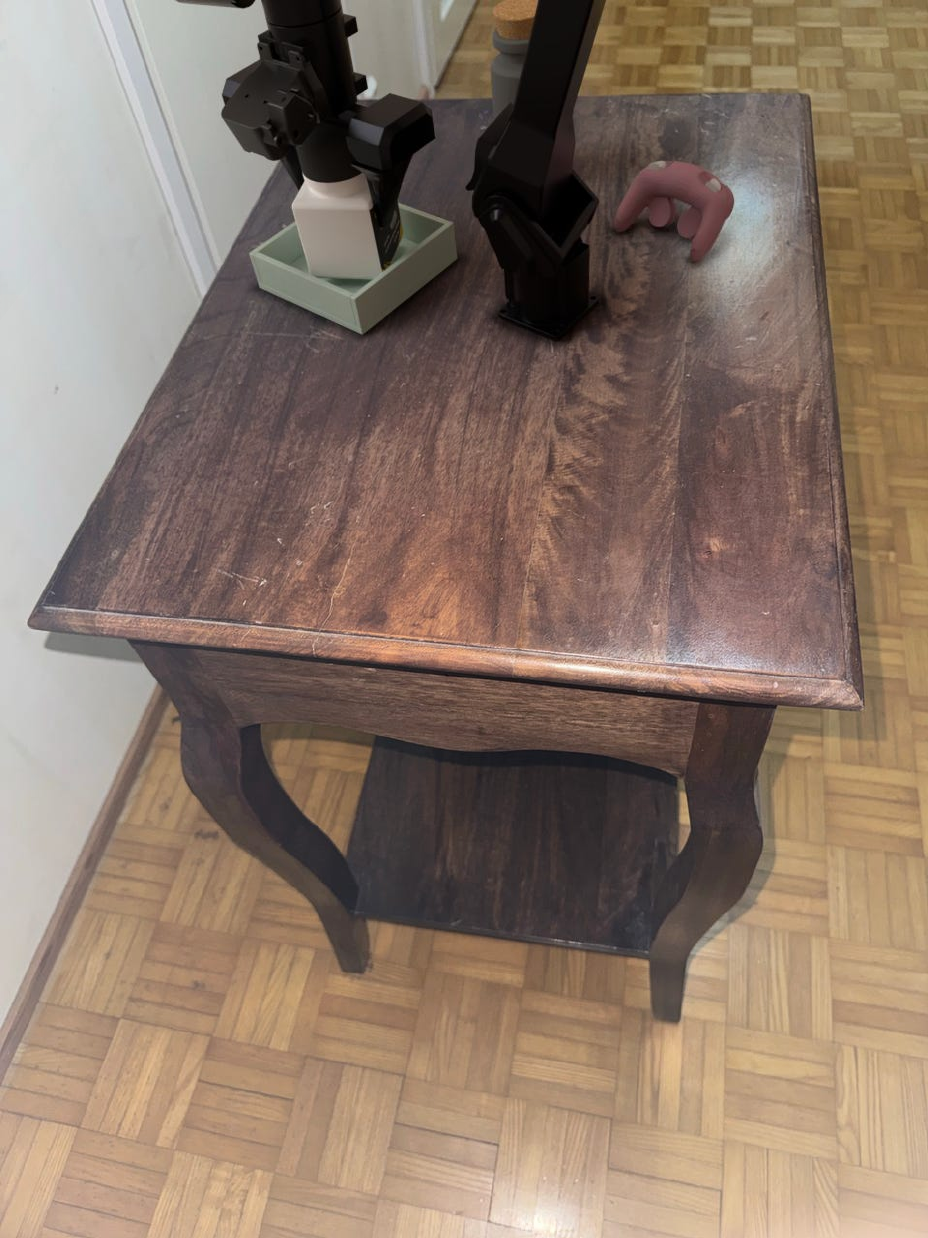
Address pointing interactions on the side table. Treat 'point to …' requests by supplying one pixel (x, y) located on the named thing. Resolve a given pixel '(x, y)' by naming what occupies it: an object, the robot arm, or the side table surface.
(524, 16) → the bottle
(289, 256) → the tray
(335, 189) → the medicine bottle
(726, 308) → the side table surface
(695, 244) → the video game controller
